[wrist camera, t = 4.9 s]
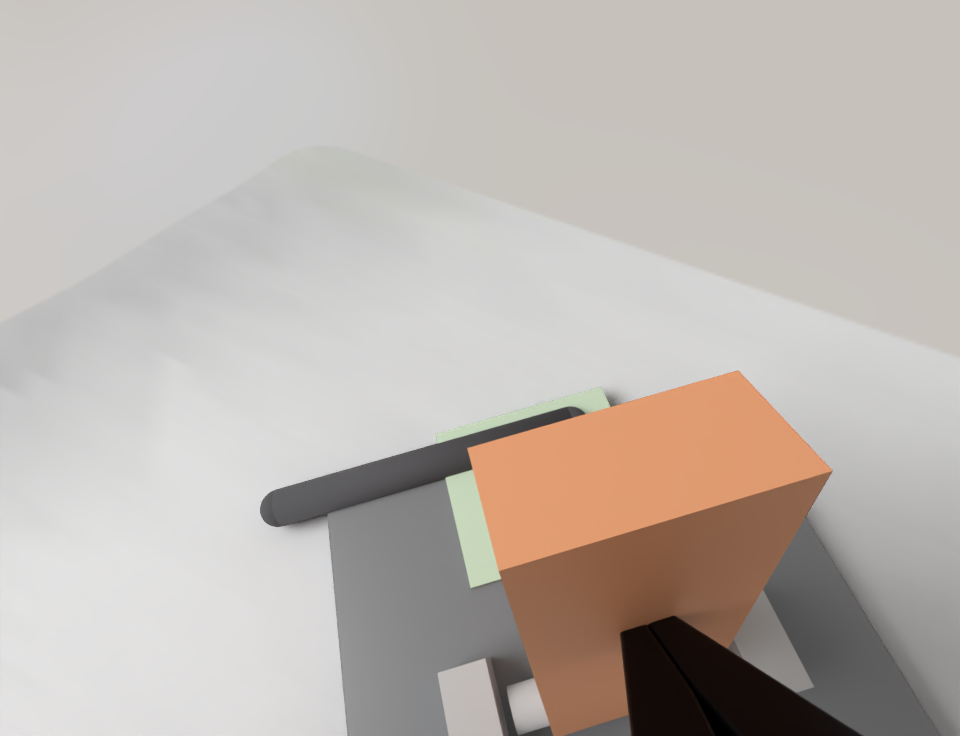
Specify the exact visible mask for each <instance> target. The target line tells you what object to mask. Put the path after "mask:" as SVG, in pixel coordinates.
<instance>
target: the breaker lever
mask: <svg viewBox="0 0 960 736" xmlns="http://www.w3.org/2000/svg"><path fill="white" fill-rule="evenodd" d="M467 449H468V453H469V457H470V461H471V465H472V468H473V472H474V476H475V480H476V484H477V488H478V492H479V496H480V500H481V504H482V508H483V512H484V516H485V520H486V524H487V527H488V531H489V535H490V539H491V543H492V547H493V551H494V555H495V559H496V563H497V567H498V571H499V574H500V577H501V580H502V583H503V586H504V589H505V592H506V595H507V598H508V601H509V604H510V607H511V610H512V613H513V616H514V619H515V622H516V625H517V628H518V631H519V634H520V637H521V640H522V643H523V646H524V649H525V652H526V655H527V658H528V661H529V664H530V667H531V670H532V673H533V676H534V678H531V679H528V680H525V681H522V682H518V683H515V684H512V685H509V686H507V693H508V699H509V703H510V708H511V712H512V716H513V720H514V724H515V727H516V731H517V734H518V735H521V734H524V733H527V732H531V731H534V730H537V729H540V728H543V727H546V726H550V727H551V730H552V733H553V736H564V735H567V734H570V733H574V732H577V731H580V730H583V729H586V728H589V727H592V726H596V725H599V724H602V723H605V722H608V721H611V720H614V719H618V718H621V717H624V716H627V715H628V706H627V696H626V687H625V678H624V669H623V659H622V650H621V641H620V633H621V632H622V631H625V630H628V629H632V628H635V627H638V626H641V625H649V624H650V623H652V622H654V621H657V620H661V619H664V618H667V617H670V616H677V617H678V618H680V619H682V620H683V621H685V622H686V623H688V624H689V625H691V626H693V627H694V628H696V629H697V630H699V631H700V632H702V633H704V634H705V635H707V636H708V637H710V638H711V639H713V640H715V641H716V642H718V643H719V644H721V645H722V646H724V647H726V648H727V649H728V648H729V646H730V644H731V643H732V641H733V639H734V638H735V636H736V634H737V633H738V631H739V629H740V627H741V626H742V624H743V622H744V621H745V619H746V617H747V616H748V614H749V612H750V610H751V609H752V607H753V605H754V604H755V602H756V600H757V599H758V597H759V595H760V593H761V592H762V590H763V588H764V587H765V585H766V583H767V582H768V580H769V578H770V576H771V575H772V573H773V571H774V570H775V568H776V566H777V565H778V563H779V561H780V559H781V558H782V556H783V554H784V553H785V551H786V549H787V548H788V546H789V544H790V542H791V541H792V539H793V537H794V536H795V534H796V532H797V531H798V529H799V527H800V526H801V524H802V522H803V520H804V519H805V517H806V515H807V514H808V512H809V510H810V509H811V507H812V505H813V503H814V502H815V500H816V498H817V497H818V495H819V493H820V492H821V490H822V488H823V486H824V485H825V483H826V481H827V480H828V478H829V476H830V475H831V473H832V470H831V469H830V467H829V466H828V465H827V464H826V463H825V462H824V461H823V460H822V459H821V458H820V457H819V456H818V455H817V454H816V453H815V451H814V450H813V449H812V448H811V447H810V446H809V445H808V444H807V443H806V442H805V441H804V440H803V439H802V438H801V437H800V436H799V434H798V433H797V432H796V431H795V430H794V429H793V428H792V427H791V426H790V425H789V424H788V423H787V422H786V421H785V420H784V418H783V417H782V416H781V415H780V414H779V413H778V412H777V411H776V410H775V409H774V408H773V407H772V406H771V405H770V404H769V403H768V401H767V400H766V399H765V398H764V397H763V396H762V395H761V394H760V393H759V392H758V391H757V390H756V389H755V388H754V387H753V385H752V384H751V383H750V382H749V381H748V380H747V379H746V378H745V377H744V376H743V375H742V374H741V373H740V372H739V371H734V372H731V373H727V374H724V375H720V376H717V377H713V378H710V379H706V380H703V381H699V382H696V383H692V384H689V385H685V386H682V387H678V388H675V389H671V390H668V391H664V392H661V393H658V394H654V395H651V396H647V397H644V398H640V399H637V400H633V401H630V402H626V403H623V404H619V405H616V406H612V407H609V408H605V409H602V410H598V411H595V412H591V413H588V414H584V415H581V416H577V417H574V418H570V419H567V420H563V421H560V422H557V423H553V424H550V425H546V426H543V427H539V428H536V429H532V430H529V431H525V432H522V433H518V434H515V435H511V436H508V437H504V438H501V439H497V440H494V441H490V442H487V443H483V444H480V445H476V446H473V447H469V448H467Z"/></svg>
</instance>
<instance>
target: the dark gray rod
mask: <svg viewBox="0 0 960 736" xmlns="http://www.w3.org/2000/svg"><path fill="white" fill-rule="evenodd" d="M584 414H585V413H584V412H583V411H582V410H581V409H579V408H577V407H573V406H568V407H564V408H560V409H557V410H553V411H550V412H546V413H543V414H539V415H536V416H532V417H529V418H525V419H522V420H518V421H515V422H511V423H508V424H504V425H501V426H497V427H494V428H490V429H487V430H483V431H480V432H476V433H473V434H469V435H466V436H462V437H459V438H455V439H452V440H448V441H445V442H441V443H438V444H434V445H431V446H427V447H424V448H420V449H417V450H413V451H410V452H406V453H403V454H399V455H396V456H392V457H389V458H385V459H382V460H378V461H375V462H371V463H368V464H364V465H361V466H357V467H354V468H350V469H347V470H343V471H340V472H336V473H333V474H329V475H326V476H322V477H319V478H315V479H312V480H308V481H305V482H301V483H298V484H294V485H291V486H287V487H284V488H280V489H277V490H274V491H272V492H270V493H269V494H268V495H267V496H266V497H265V498H264V499H263V501H262V503H261V507H260V513H261V516H262V518H263V520H264V521H265V522H266V523H267V524H269V525H271V526H274V527H281V526H286V525H289V524H293V523H296V522H299V521H303V520H306V519H310V518H313V517H317V516H320V515H324V514H327V513H330V512H333V511H336V510H340V509H343V508H347V507H350V506H354V505H357V504H361V503H364V502H368V501H371V500H374V499H378V498H381V497H385V496H388V495H392V494H395V493H399V492H402V491H406V490H409V489H412V488H416V487H419V486H423V485H426V484H430V483H433V482H437V481H440V480H444V479H445V477H449V476H452V475H456V474H459V473H463V472H466V471H470V470H473V468H472V465H471V461H470V457H469V453H468V449H467V448H469V447H473V446H476V445H480V444H483V443H487V442H490V441H494V440H497V439H501V438H504V437H508V436H511V435H515V434H518V433H522V432H525V431H529V430H532V429H536V428H539V427H543V426H546V425H550V424H553V423H557V422H560V421H563V420H567V419H570V418H574V417H577V416H581V415H584Z"/></svg>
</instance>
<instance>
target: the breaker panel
mask: <svg viewBox="0 0 960 736" xmlns="http://www.w3.org/2000/svg"><path fill="white" fill-rule="evenodd" d="M568 406H573V407H577V408H579V409H581V410H582V411H583V412H584V413H585V414H588V413H591V412H595V411H598V410H602V409H605V408H609V407H610V405H609V402H608V400H607V398H606V396H605V394H604V391H603V389H602V387H599V388H595V389H592V390H588V391H585V392H581V393H578V394H574V395H571V396H567V397H564V398H560V399H557V400H553V401H550V402H546V403H543V404H539V405H536V406H532V407H529V408H525V409H522V410H518V411H515V412H511V413H508V414H504V415H501V416H497V417H494V418H490V419H487V420H483V421H480V422H476V423H473V424H469V425H466V426H462V427H459V428H455V429H452V430H448V431H445V432H441V433H438V434H435V435H436V440H437V444H438V443H441V442H445V441H448V440H452V439H455V438H459V437H462V436H466V435H469V434H473V433H476V432H480V431H483V430H487V429H490V428H494V427H497V426H501V425H504V424H508V423H511V422H515V421H518V420H522V419H525V418H529V417H532V416H536V415H539V414H543V413H546V412H550V411H553V410H557V409H560V408H564V407H568ZM327 517H328V528H329V539H330V550H331V560H332V571H333V582H334V593H335V604H336V615H337V626H338V637H339V648H340V659H341V670H342V680H343V691H344V702H345V713H346V724H347V735H348V736H553V733H552V730H551V727H550V726H546V727H543V728H540V729H537V730H534V731H531V732H527V733H524V734H521V735H518V734H517V731H516V727H515V724H514V720H513V716H512V712H511V708H510V703H509V699H508V693H507V686H509V685H512V684H515V683H518V682H522V681H525V680H528V679H531V678H534V676H533V673H532V670H531V667H530V664H529V661H528V658H527V655H526V652H525V649H524V646H523V643H522V640H521V637H520V634H519V631H518V628H517V625H516V622H515V619H514V616H513V613H512V610H511V607H510V604H509V601H508V598H507V595H506V592H505V589H504V586H503V583H502V580H501V577H500V574H499V571H498V567H497V563H496V559H495V555H494V551H493V547H492V543H491V539H490V535H489V531H488V527H487V524H486V520H485V516H484V512H483V508H482V504H481V500H480V496H479V492H478V488H477V484H476V480H475V476H474V472H473V470H470V471H466V472H463V473H459V474H456V475H452V476H449V477H445V479H444V480H440V481H437V482H433V483H430V484H426V485H423V486H419V487H416V488H412V489H409V490H406V491H402V492H399V493H395V494H392V495H388V496H385V497H381V498H378V499H374V500H371V501H368V502H364V503H361V504H357V505H354V506H350V507H347V508H343V509H340V510H336V511H333V512H330V513H327ZM728 649H729V650H730V651H732V652H733V653H735V654H737V655H738V656H740V657H741V658H743V659H744V660H746V661H748V662H749V663H751V664H752V665H754V666H755V667H757V668H759V669H760V670H762V671H763V672H765V673H766V674H768V675H770V676H771V677H773V678H774V679H776V680H777V681H779V682H781V683H782V684H784V685H785V686H787V687H788V688H790V689H792V690H793V691H795V692H796V693H798V694H799V695H801V696H803V697H804V698H806V699H807V700H809V701H810V702H812V703H813V704H815V705H817V706H818V707H820V708H821V709H823V710H824V711H826V712H828V713H829V714H831V715H832V716H834V717H835V718H837V719H839V720H840V721H842V722H843V723H845V724H846V725H848V726H850V727H851V728H853V729H854V730H856V731H857V732H859V733H861V734H862V735H864V736H940V735H939V733H938V732H937V730H936V729H935V727H934V725H933V724H932V722H931V720H930V719H929V717H928V716H927V714H926V712H925V711H924V709H923V707H922V706H921V704H920V703H919V701H918V699H917V698H916V696H915V694H914V693H913V691H912V690H911V688H910V686H909V685H908V683H907V681H906V680H905V678H904V677H903V675H902V673H901V672H900V670H899V668H898V667H897V665H896V664H895V662H894V660H893V659H892V657H891V655H890V654H889V652H888V650H887V649H886V647H885V646H884V644H883V642H882V641H881V639H880V637H879V636H878V634H877V633H876V631H875V629H874V628H873V626H872V624H871V623H870V621H869V620H868V618H867V616H866V615H865V613H864V611H863V610H862V608H861V607H860V605H859V603H858V602H857V600H856V598H855V597H854V595H853V594H852V592H851V590H850V589H849V587H848V585H847V584H846V582H845V581H844V579H843V577H842V576H841V574H840V572H839V571H838V569H837V568H836V566H835V564H834V563H833V561H832V559H831V558H830V556H829V555H828V553H827V551H826V550H825V548H824V546H823V545H822V543H821V542H820V540H819V538H818V537H817V535H816V533H815V532H814V530H813V528H812V527H811V525H810V524H809V522H808V520H807V519H806V517H805V519H804V520H803V522H802V524H801V526H800V527H799V529H798V531H797V532H796V534H795V536H794V537H793V539H792V541H791V542H790V544H789V546H788V548H787V549H786V551H785V553H784V554H783V556H782V558H781V559H780V561H779V563H778V565H777V566H776V568H775V570H774V571H773V573H772V575H771V576H770V578H769V580H768V582H767V583H766V585H765V587H764V588H763V590H762V592H761V593H760V595H759V597H758V599H757V600H756V602H755V604H754V605H753V607H752V609H751V610H750V612H749V614H748V616H747V617H746V619H745V621H744V622H743V624H742V626H741V627H740V629H739V631H738V633H737V634H736V636H735V638H734V639H733V641H732V643H731V644H730V646H729V648H728ZM564 736H631V733H630V724H629V715H627V716H624V717H621V718H618V719H614V720H611V721H608V722H605V723H602V724H599V725H596V726H592V727H589V728H586V729H583V730H580V731H577V732H574V733H570V734H567V735H564Z"/></svg>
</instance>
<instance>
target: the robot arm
mask: <svg viewBox="0 0 960 736" xmlns="http://www.w3.org/2000/svg"><path fill="white" fill-rule="evenodd" d="M620 641H621V650H622V659H623V669H624V678H625V687H626V696H627V706H628V715H629V724H630V733H631V736H864V735H862V734H861V733H859V732H857V731H856V730H854V729H853V728H851V727H850V726H848V725H846V724H845V723H843V722H842V721H840V720H839V719H837V718H835V717H834V716H832V715H831V714H829V713H828V712H826V711H824V710H823V709H821V708H820V707H818V706H817V705H815V704H813V703H812V702H810V701H809V700H807V699H806V698H804V697H803V696H801V695H799V694H798V693H796V692H795V691H793V690H792V689H790V688H788V687H787V686H785V685H784V684H782V683H781V682H779V681H777V680H776V679H774V678H773V677H771V676H770V675H768V674H766V673H765V672H763V671H762V670H760V669H759V668H757V667H755V666H754V665H752V664H751V663H749V662H748V661H746V660H744V659H743V658H741V657H740V656H738V655H737V654H735V653H733V652H732V651H730V650H729V649H727V648H726V647H724V646H722V645H721V644H719V643H718V642H716V641H715V640H713V639H711V638H710V637H708V636H707V635H705V634H704V633H702V632H700V631H699V630H697V629H696V628H694V627H693V626H691V625H689V624H688V623H686V622H685V621H683V620H682V619H680V618H678V617H677V616H670V617H667V618H664V619H661V620H657V621H654V622H652V623H650V624H649V625H641V626H638V627H635V628H632V629H628V630H625V631H622V632H621V633H620Z"/></svg>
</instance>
